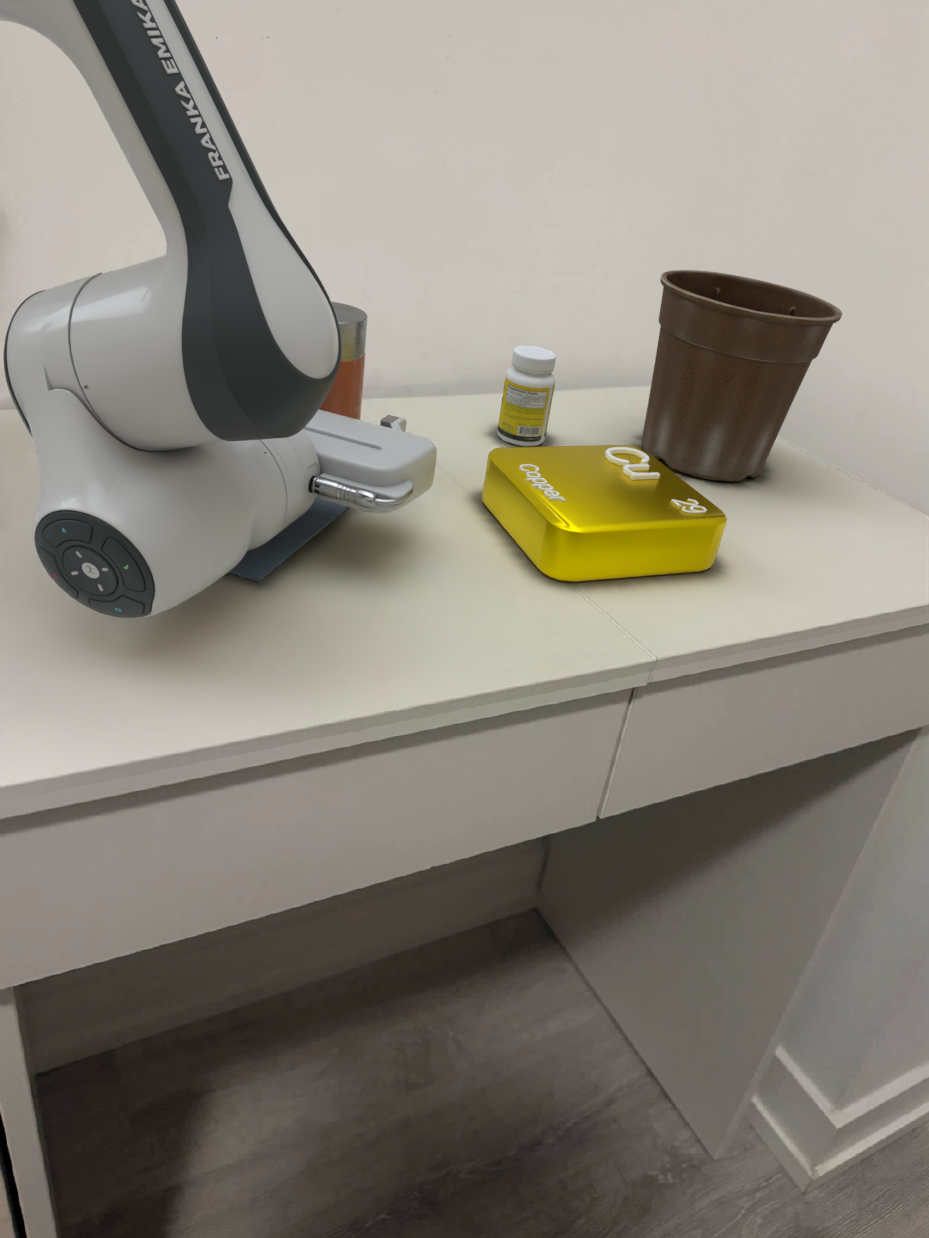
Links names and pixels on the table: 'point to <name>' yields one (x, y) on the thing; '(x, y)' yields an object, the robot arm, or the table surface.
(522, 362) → the supplement bottle
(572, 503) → the element tile
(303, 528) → the rubber mat
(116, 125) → the robot arm
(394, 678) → the table surface
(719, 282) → the plant pot
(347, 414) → the tin can
